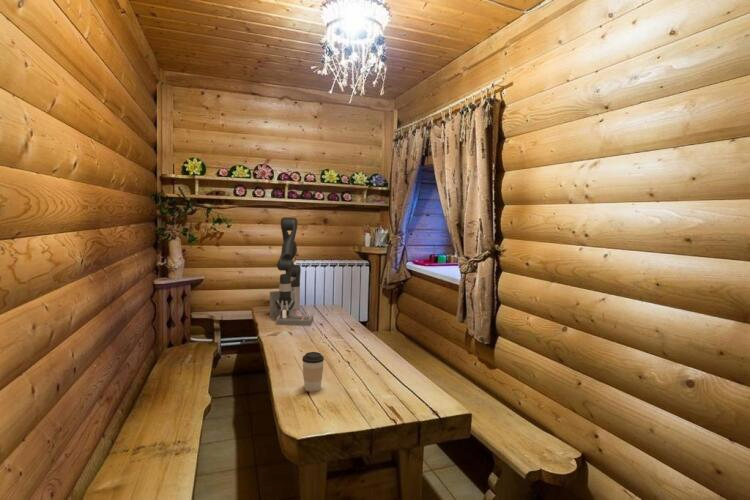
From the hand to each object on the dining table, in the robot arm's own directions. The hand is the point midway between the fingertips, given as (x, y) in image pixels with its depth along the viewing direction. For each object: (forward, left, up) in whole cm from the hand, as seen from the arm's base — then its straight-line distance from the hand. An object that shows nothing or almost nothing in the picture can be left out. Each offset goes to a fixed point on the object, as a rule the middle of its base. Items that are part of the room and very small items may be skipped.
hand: (284, 315), depth 274 cm
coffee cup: (+100, +34, -5) cm, 106 cm away
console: (0, +7, -5) cm, 8 cm away
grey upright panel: (-16, -6, -5) cm, 18 cm away
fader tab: (0, 0, -1) cm, 1 cm away
